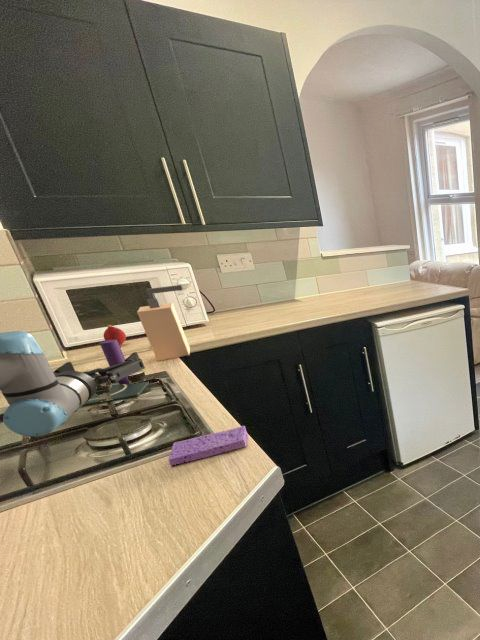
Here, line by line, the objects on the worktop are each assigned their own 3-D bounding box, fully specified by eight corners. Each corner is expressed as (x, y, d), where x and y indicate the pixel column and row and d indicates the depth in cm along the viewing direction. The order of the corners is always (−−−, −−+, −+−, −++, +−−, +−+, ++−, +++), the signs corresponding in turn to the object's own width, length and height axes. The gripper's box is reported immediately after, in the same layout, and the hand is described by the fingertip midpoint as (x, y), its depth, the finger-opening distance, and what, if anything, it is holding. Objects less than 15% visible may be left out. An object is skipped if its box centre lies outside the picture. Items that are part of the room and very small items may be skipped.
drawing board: (37, 414, 102) (35, 412, 102) (66, 391, 114) (65, 389, 114) (138, 396, 109) (137, 394, 109) (155, 377, 122) (154, 374, 122)
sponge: (246, 447, 83) (243, 439, 83) (169, 467, 78) (165, 459, 77) (248, 432, 89) (245, 424, 88) (176, 450, 84) (172, 442, 83)
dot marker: (115, 385, 115) (97, 344, 110) (120, 381, 118) (102, 340, 114) (131, 383, 116) (114, 341, 112) (135, 379, 119) (119, 338, 115)
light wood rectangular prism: (157, 361, 135) (128, 293, 126) (159, 354, 141) (132, 289, 132) (204, 352, 141) (180, 286, 132) (204, 346, 148) (181, 283, 139)
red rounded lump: (125, 342, 156) (116, 321, 153) (132, 344, 153) (122, 323, 150) (106, 347, 152) (96, 326, 148) (112, 349, 149) (102, 327, 146)
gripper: (-1, 420, 88) (49, 385, 106) (144, 394, 98) (168, 366, 115) (-21, 388, 85) (34, 357, 103) (130, 364, 95) (157, 340, 112)
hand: (105, 361), depth 109 cm, fingers open, 13 cm apart
